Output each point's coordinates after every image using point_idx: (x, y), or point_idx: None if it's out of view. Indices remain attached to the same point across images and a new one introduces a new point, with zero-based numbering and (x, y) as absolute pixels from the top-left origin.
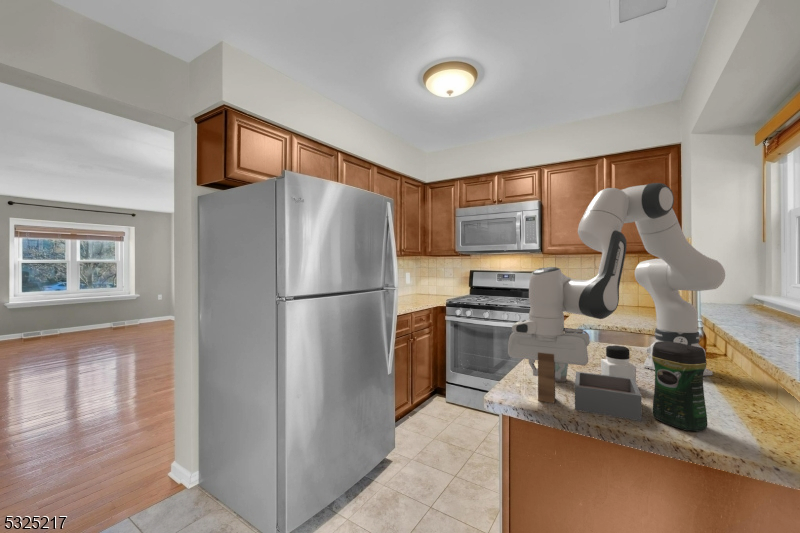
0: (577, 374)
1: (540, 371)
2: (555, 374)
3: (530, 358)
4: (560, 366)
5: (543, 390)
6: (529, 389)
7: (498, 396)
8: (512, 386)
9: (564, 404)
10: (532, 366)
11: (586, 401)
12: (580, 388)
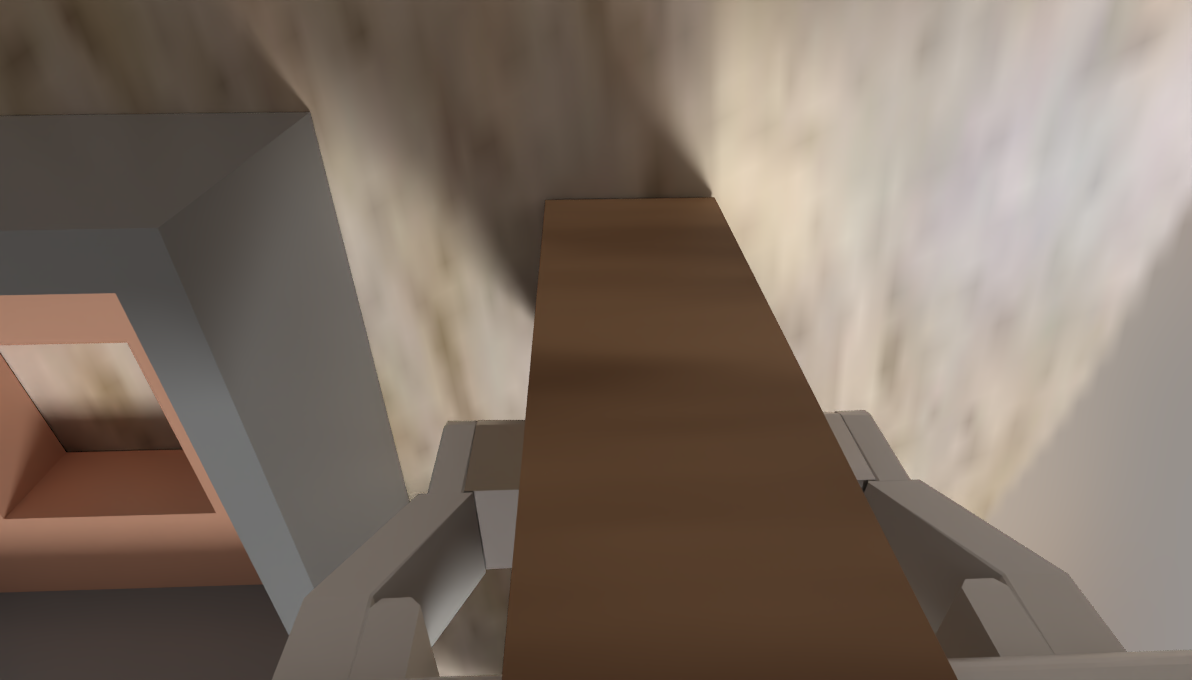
0: None
1: (781, 426)
2: (513, 463)
3: (1145, 673)
4: (386, 603)
5: (673, 255)
6: None
7: (1170, 115)
8: (945, 444)
9: (445, 224)
10: (949, 525)
11: (112, 151)
12: (74, 217)
